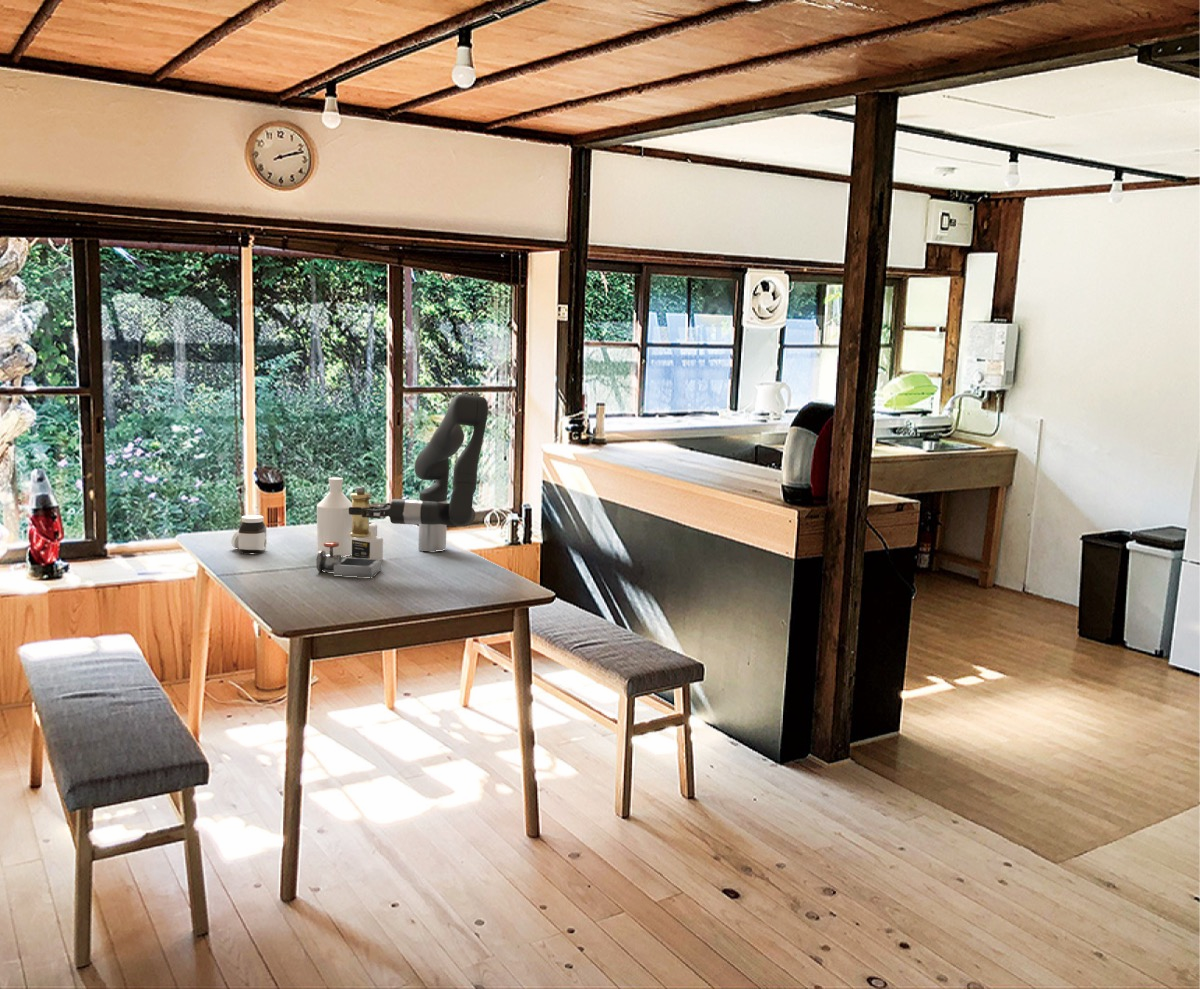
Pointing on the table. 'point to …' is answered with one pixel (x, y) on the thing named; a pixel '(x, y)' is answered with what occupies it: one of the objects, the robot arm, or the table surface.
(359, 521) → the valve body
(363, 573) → the grey piece
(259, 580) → the table surface
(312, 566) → the table surface
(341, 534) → the bottle
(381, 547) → the medicine bottle
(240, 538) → the spread jar
